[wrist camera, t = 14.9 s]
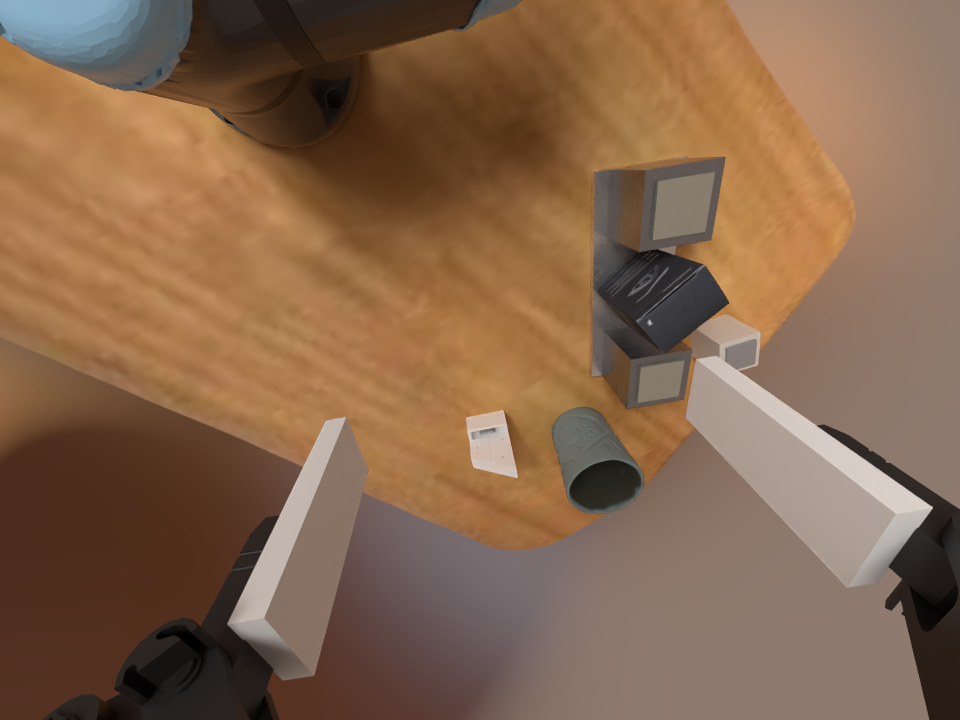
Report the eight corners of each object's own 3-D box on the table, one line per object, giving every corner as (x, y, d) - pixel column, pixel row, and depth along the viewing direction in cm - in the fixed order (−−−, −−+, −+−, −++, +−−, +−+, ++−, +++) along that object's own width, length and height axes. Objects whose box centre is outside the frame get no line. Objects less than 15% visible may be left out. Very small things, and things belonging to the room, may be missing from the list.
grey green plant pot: (602, 450, 58) (636, 512, 48) (542, 454, 58) (563, 518, 47) (612, 400, 54) (652, 456, 43) (547, 404, 53) (571, 462, 42)
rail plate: (591, 171, 38) (630, 172, 30) (682, 156, 38) (746, 153, 30) (589, 373, 51) (616, 413, 43) (657, 362, 51) (697, 399, 43)
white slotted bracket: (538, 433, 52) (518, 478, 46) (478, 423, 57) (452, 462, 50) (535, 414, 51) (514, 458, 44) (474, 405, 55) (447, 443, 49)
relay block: (690, 325, 48) (721, 346, 43) (726, 314, 48) (763, 333, 42) (691, 355, 51) (721, 378, 45) (725, 344, 50) (760, 366, 45)
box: (619, 319, 46) (663, 358, 36) (594, 290, 44) (634, 323, 34) (671, 275, 44) (733, 304, 34) (648, 242, 41) (707, 264, 32)
